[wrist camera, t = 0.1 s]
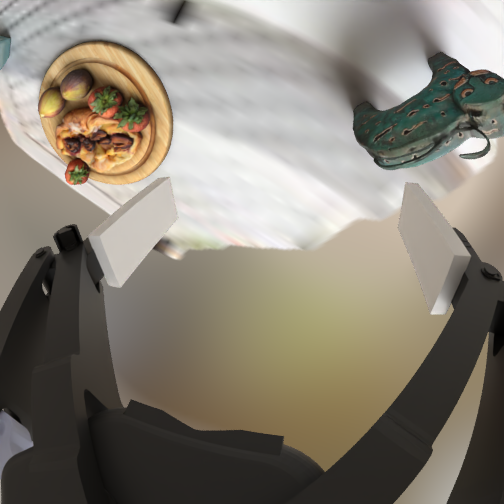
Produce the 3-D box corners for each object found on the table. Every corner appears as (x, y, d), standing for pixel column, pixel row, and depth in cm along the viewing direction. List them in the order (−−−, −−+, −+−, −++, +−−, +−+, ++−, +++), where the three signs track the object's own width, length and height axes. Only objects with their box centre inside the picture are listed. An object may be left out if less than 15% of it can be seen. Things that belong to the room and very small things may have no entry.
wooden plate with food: (120, 199, 60) (105, 225, 55) (30, 121, 42) (7, 142, 37) (213, 122, 42) (197, 148, 37) (88, 8, 23) (53, 19, 18)
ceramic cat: (445, 40, 21) (534, 97, 9) (466, 77, 23) (546, 154, 12) (341, 105, 34) (358, 194, 22) (367, 135, 37) (391, 233, 25)
